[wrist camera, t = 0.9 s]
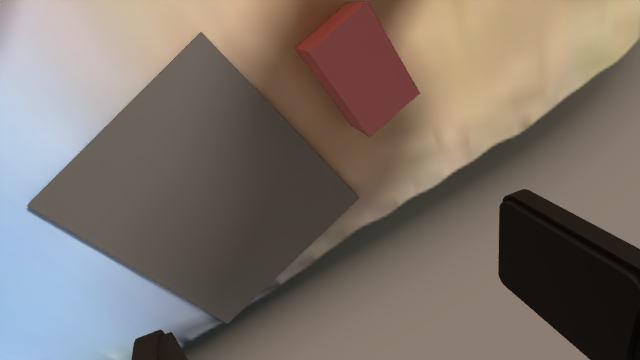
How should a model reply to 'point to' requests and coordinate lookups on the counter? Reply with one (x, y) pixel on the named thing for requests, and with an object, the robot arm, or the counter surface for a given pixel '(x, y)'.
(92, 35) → the counter surface
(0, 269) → the counter surface
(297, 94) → the counter surface
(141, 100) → the mat
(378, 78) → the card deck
